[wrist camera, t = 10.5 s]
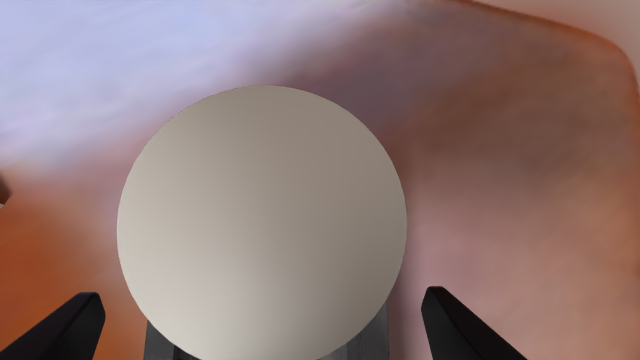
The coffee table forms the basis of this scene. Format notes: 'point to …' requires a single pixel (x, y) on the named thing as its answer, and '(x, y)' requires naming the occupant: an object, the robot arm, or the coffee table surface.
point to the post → (262, 226)
